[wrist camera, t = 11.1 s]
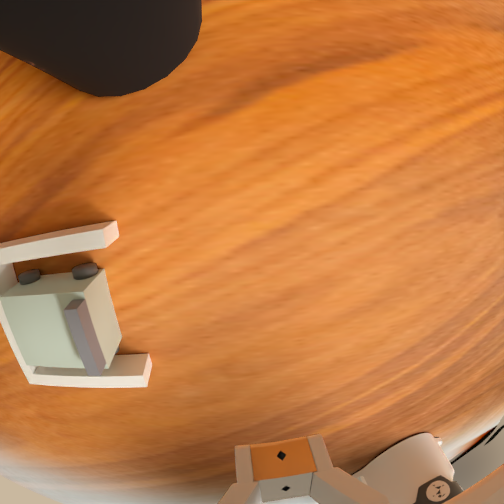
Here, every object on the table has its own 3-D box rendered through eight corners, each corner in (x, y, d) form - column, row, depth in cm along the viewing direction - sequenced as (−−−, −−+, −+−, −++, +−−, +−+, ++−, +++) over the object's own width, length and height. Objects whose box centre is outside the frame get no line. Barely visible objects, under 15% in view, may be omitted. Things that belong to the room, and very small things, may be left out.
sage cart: (124, 342, 22) (106, 388, 17) (49, 343, 21) (22, 381, 16) (103, 260, 20) (71, 292, 15) (25, 269, 19) (-14, 297, 14)
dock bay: (152, 364, 23) (147, 386, 20) (41, 365, 22) (29, 383, 19) (116, 220, 19) (102, 229, 17) (-2, 243, 18) (-22, 253, 15)
